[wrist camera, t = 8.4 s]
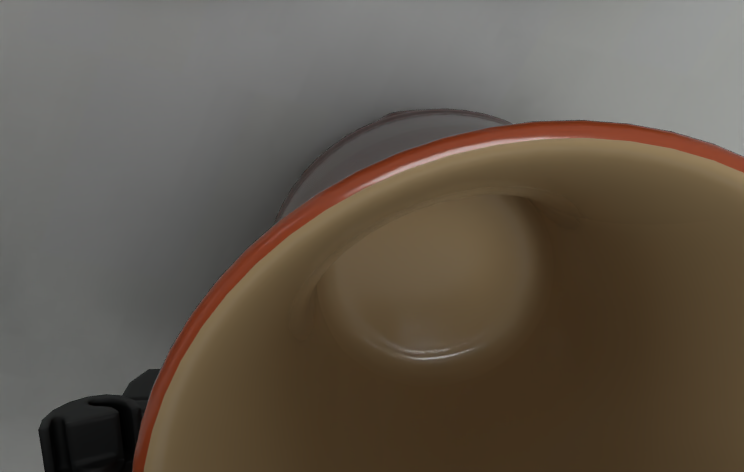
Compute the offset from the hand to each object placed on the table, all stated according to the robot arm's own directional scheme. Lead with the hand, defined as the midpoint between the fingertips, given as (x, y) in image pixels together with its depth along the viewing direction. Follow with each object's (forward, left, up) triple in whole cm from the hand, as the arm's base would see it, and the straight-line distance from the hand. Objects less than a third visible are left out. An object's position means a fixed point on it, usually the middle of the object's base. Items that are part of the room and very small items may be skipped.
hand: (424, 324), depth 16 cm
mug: (-1, 0, -2) cm, 2 cm away
